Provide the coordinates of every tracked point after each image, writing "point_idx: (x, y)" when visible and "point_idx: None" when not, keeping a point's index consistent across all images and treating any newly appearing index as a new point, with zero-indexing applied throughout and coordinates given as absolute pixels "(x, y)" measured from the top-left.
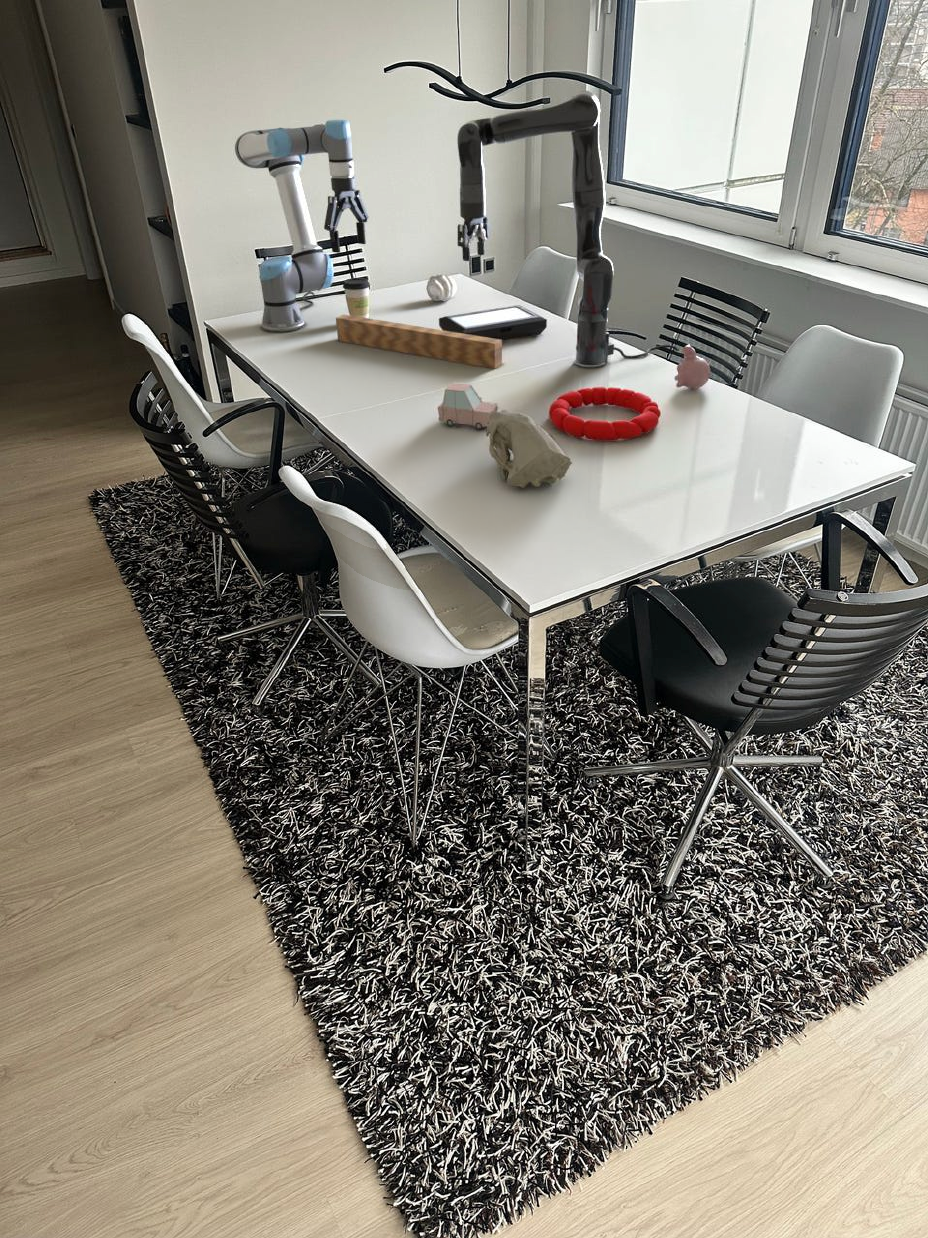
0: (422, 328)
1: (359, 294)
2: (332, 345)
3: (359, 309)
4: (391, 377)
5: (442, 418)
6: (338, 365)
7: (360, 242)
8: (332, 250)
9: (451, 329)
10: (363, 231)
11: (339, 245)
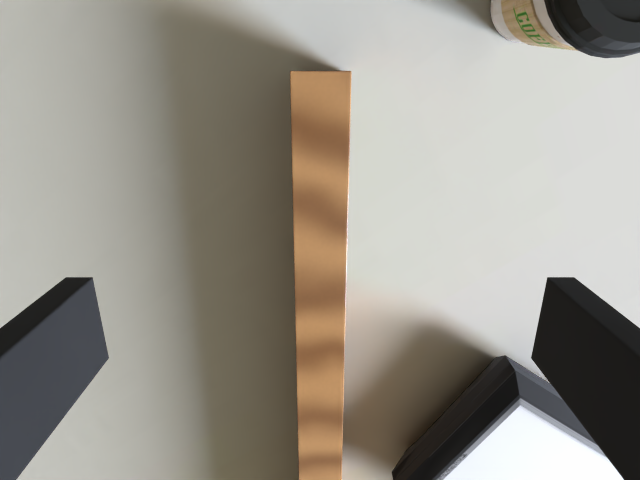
0: (329, 433)
1: (552, 31)
2: (241, 90)
3: (518, 29)
4: (122, 413)
5: None
6: (100, 243)
7: (546, 317)
8: (55, 290)
9: (442, 432)
10: (615, 465)
11: (69, 405)
